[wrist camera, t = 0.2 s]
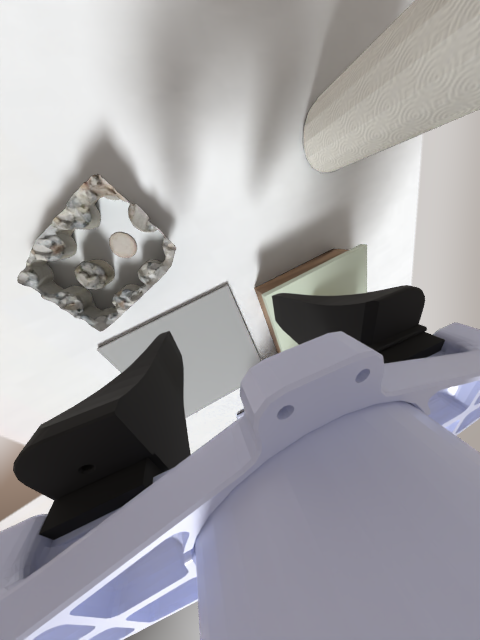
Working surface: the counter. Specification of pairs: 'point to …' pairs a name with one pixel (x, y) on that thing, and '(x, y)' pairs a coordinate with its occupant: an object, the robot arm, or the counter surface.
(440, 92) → the paper towel roll
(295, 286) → the lid
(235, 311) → the mat
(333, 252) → the box base
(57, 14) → the counter surface
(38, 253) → the egg carton
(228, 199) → the counter surface
